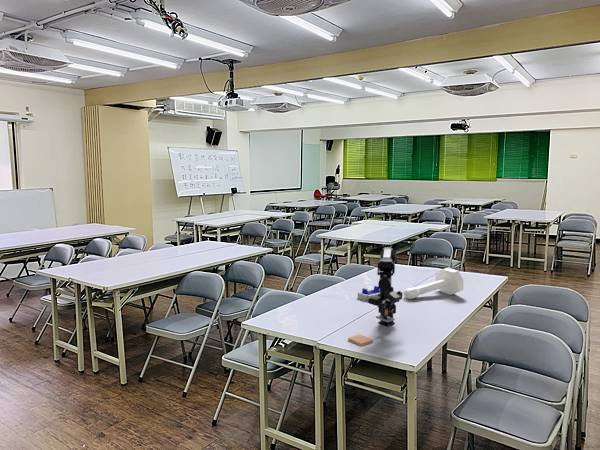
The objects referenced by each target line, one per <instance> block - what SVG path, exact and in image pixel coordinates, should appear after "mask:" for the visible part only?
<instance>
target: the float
mask: <svg viewBox="0 0 600 450" xmlns="http://www.w3.org/2000/svg"><path fill="white" fill-rule="evenodd" d="M375 319H378V320H379V321H380V320H383V321H386V322H390V321H393V322H394V321H395V318H394V317H393V318H391V317H389V316H388V308H387V307H385V314H384V316H382V315H376V316H375Z"/></svg>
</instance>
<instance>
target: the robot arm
mask: <svg viewBox="0 0 600 450" xmlns="http://www.w3.org/2000/svg"><path fill="white" fill-rule="evenodd" d="M379 255H380V257H379V258H380V259H379V261H378V262H377V272H376V274H377V276H379V279H378V284H377V286H378V289H380V294H378V297H380V298H377V297H371V298H369V299H368V301H367V303H368V304H370V305H373V306H376V307H377V308H378V314H380V315H382V316H384V314H385V307H387V308H388V316H389V317H391V318H394V315H395V314H397V306H396V303H399V302H400V300H403V291H401V290H398V291H395V290H394V289H395V288H394V286H392V277H393V276H394V274H395V272H396V271H395V270H396V265H395V264H396V263H395V262H396V261H397V252H396V250H394V248H392V247H383V248H382V250H381V251H380V254H379ZM377 323H378V324H381V325H383V326H386V327H388V326H391V325H394V324H395V322H394V320H393V321H390V322H386V321H383V320H380V319H379V321H378V322H377Z"/></svg>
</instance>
